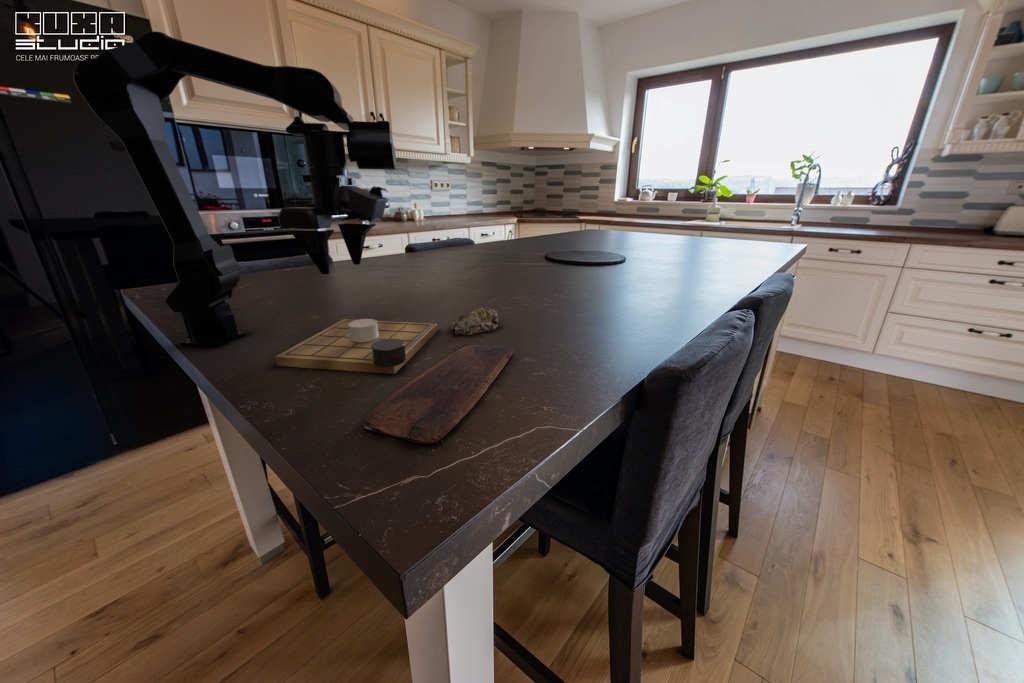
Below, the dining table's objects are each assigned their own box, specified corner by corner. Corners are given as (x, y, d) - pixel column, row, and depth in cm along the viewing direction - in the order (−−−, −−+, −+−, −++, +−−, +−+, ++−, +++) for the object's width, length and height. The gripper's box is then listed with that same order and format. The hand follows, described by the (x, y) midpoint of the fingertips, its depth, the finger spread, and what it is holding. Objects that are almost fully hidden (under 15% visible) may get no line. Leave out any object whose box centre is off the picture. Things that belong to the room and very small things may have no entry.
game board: (277, 366, 57) (274, 355, 56) (344, 326, 74) (343, 318, 73) (394, 374, 54) (393, 363, 54) (437, 331, 71) (436, 323, 71)
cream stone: (344, 341, 62) (342, 326, 61) (359, 332, 66) (357, 318, 65) (371, 343, 61) (368, 328, 60) (383, 333, 65) (382, 319, 64)
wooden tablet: (465, 336, 64) (523, 336, 61) (467, 349, 65) (524, 350, 61) (352, 421, 41) (435, 429, 37) (357, 439, 42) (439, 449, 38)
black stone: (367, 366, 53) (365, 349, 52) (382, 353, 57) (380, 337, 56) (398, 368, 53) (396, 351, 52) (411, 355, 57) (409, 339, 56)
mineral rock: (473, 305, 79) (504, 300, 74) (479, 326, 80) (510, 322, 75) (434, 320, 71) (466, 316, 66) (441, 343, 72) (472, 341, 67)
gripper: (340, 164, 51) (356, 282, 57) (402, 171, 69) (409, 262, 74) (265, 164, 53) (287, 279, 59) (344, 171, 70) (355, 259, 76)
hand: (342, 269), depth 67 cm, fingers open, 9 cm apart
